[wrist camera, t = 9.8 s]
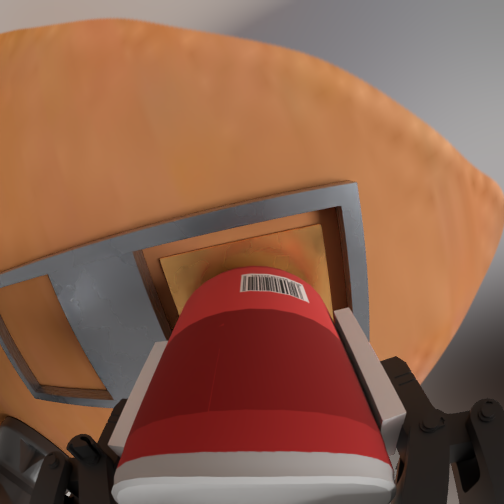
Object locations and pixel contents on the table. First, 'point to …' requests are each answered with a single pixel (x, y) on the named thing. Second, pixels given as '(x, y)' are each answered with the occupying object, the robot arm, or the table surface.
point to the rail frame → (181, 280)
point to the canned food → (254, 405)
